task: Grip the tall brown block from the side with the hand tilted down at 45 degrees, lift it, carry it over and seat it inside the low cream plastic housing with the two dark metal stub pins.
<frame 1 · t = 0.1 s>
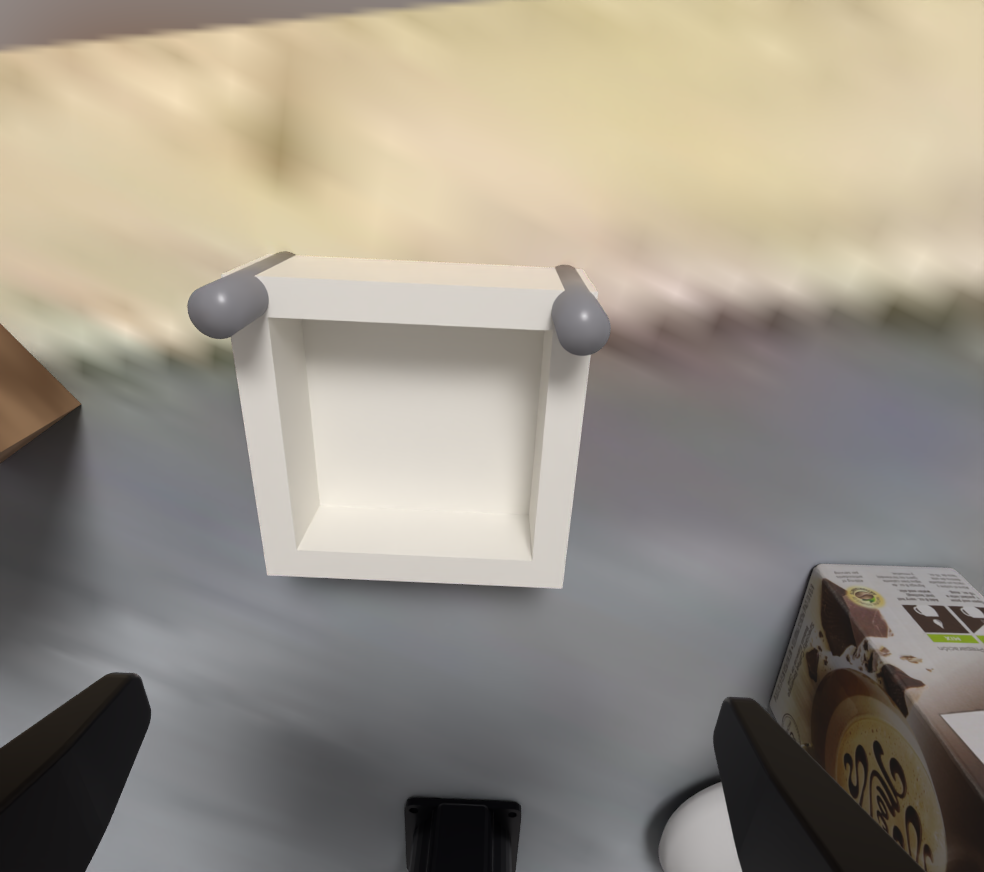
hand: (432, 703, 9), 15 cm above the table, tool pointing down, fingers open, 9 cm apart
flower in vase: (740, 818, 34), on the table
coffee box: (849, 637, 28), on the table
housing: (426, 406, 23), on the table
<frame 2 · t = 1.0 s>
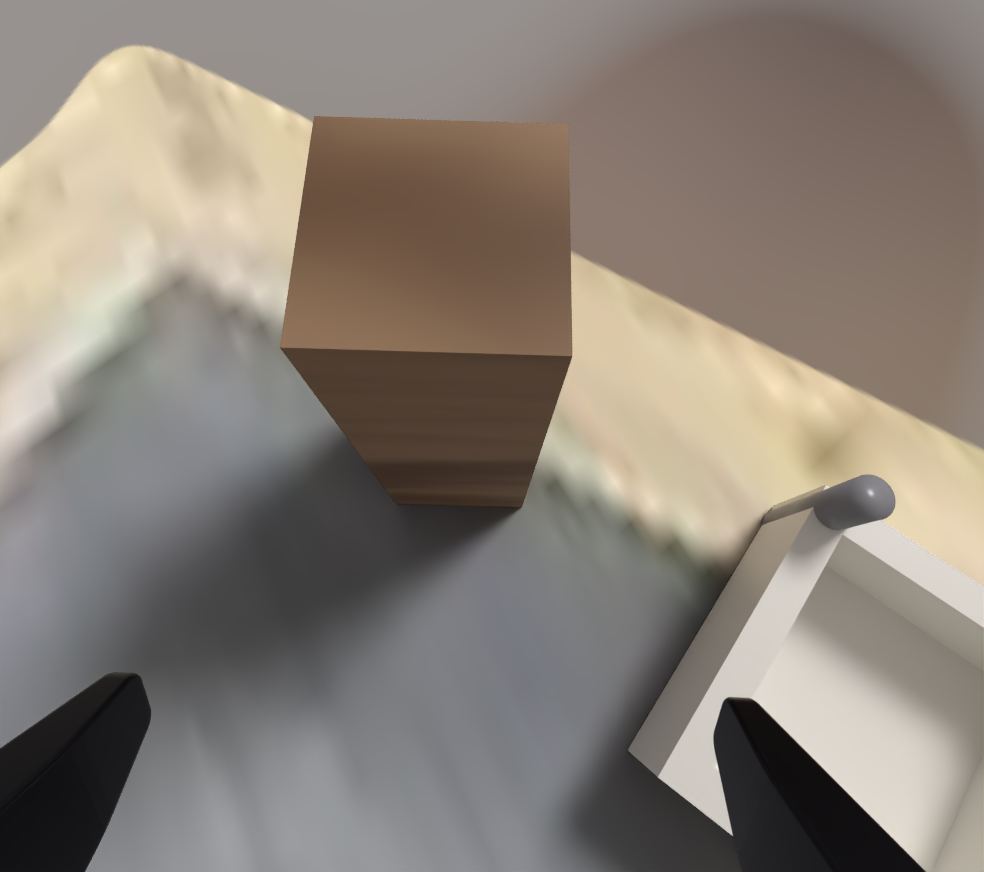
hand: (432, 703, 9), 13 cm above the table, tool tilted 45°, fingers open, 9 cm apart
brown block: (461, 445, 24), on the table
housing: (835, 714, 21), on the table
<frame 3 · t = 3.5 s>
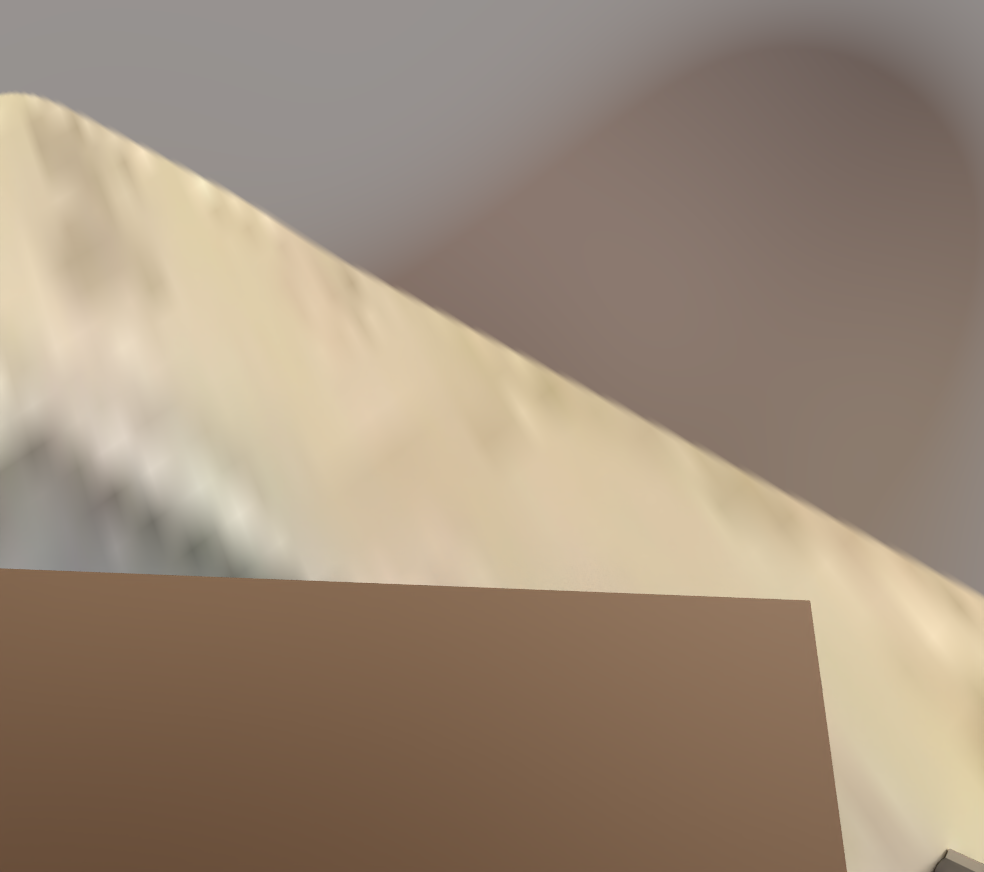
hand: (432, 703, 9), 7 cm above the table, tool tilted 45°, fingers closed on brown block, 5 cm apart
brown block: (450, 732, 15), on the table, touching gripper
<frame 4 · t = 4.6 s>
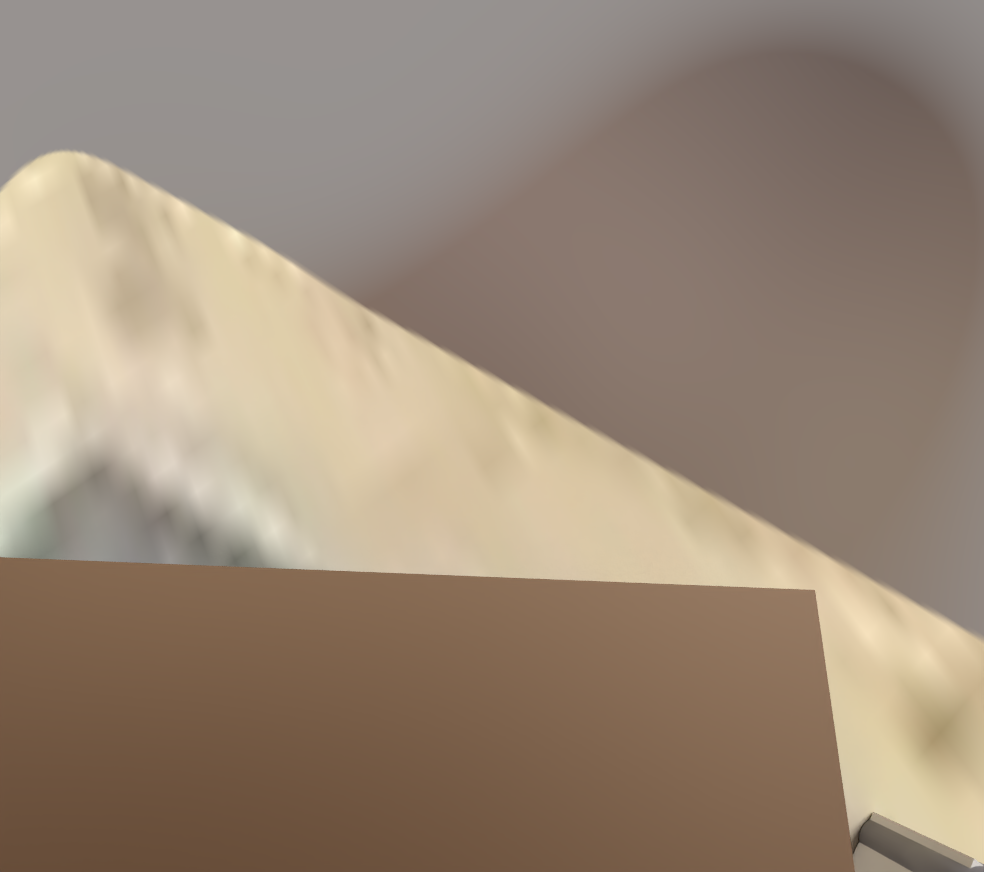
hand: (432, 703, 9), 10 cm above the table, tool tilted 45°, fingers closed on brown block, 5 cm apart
brown block: (451, 731, 15), point 3 cm above the table, touching gripper
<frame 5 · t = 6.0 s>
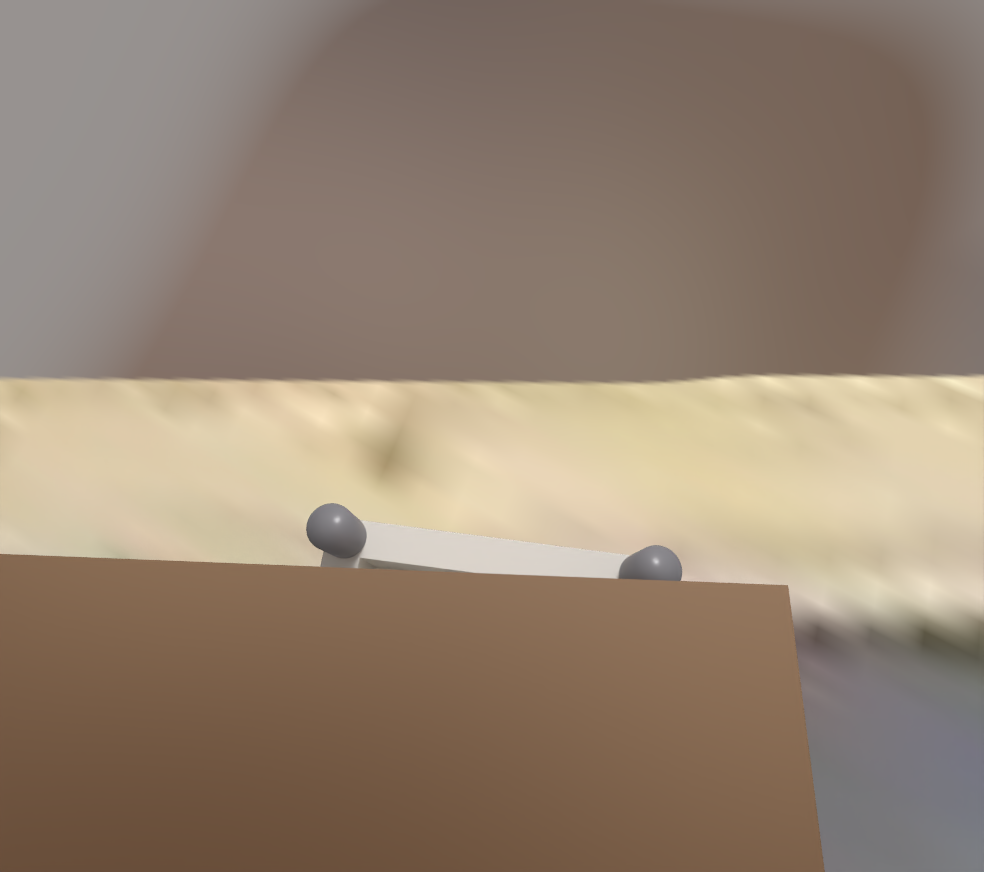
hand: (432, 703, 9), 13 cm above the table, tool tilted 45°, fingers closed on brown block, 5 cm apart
brown block: (451, 727, 16), point 6 cm above the table, touching gripper
housing: (473, 703, 21), on the table
when the fingers open (9 cm above the table, at t = 7.2 s): brown block stays where it is, resting on housing.
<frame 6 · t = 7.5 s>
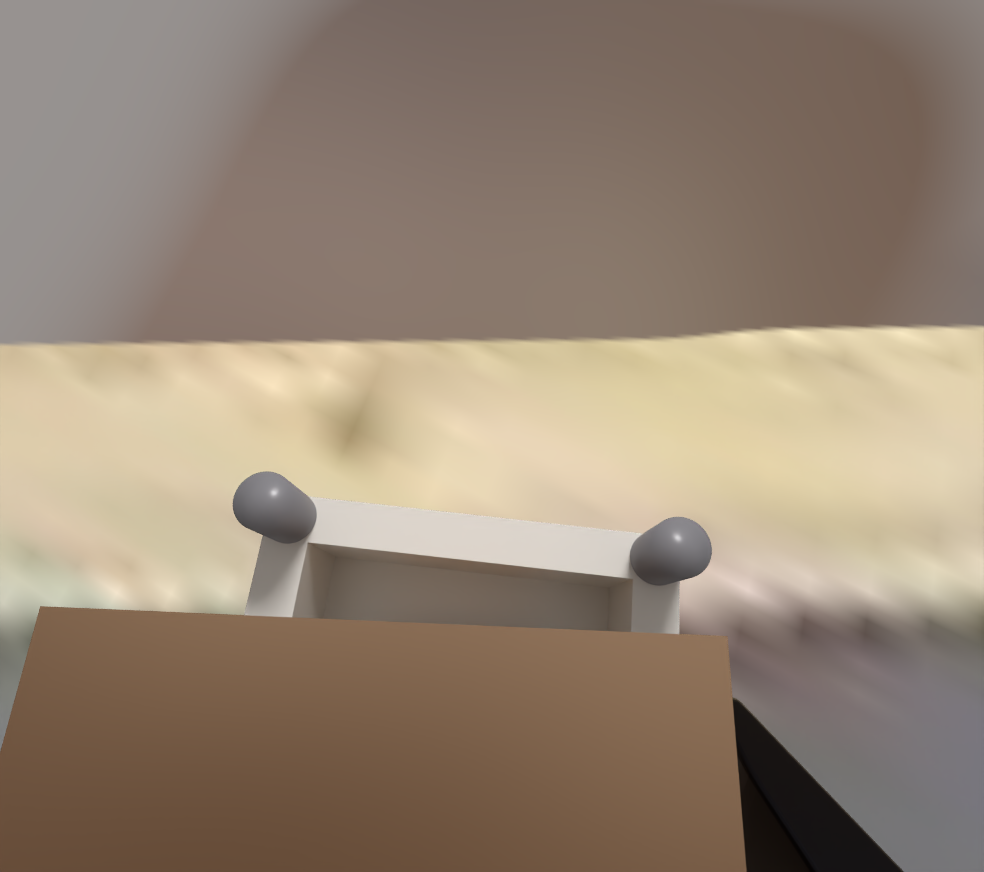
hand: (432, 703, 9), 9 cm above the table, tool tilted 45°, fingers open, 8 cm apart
brown block: (453, 722, 17), point 1 cm above the table, touching housing
housing: (454, 719, 18), on the table
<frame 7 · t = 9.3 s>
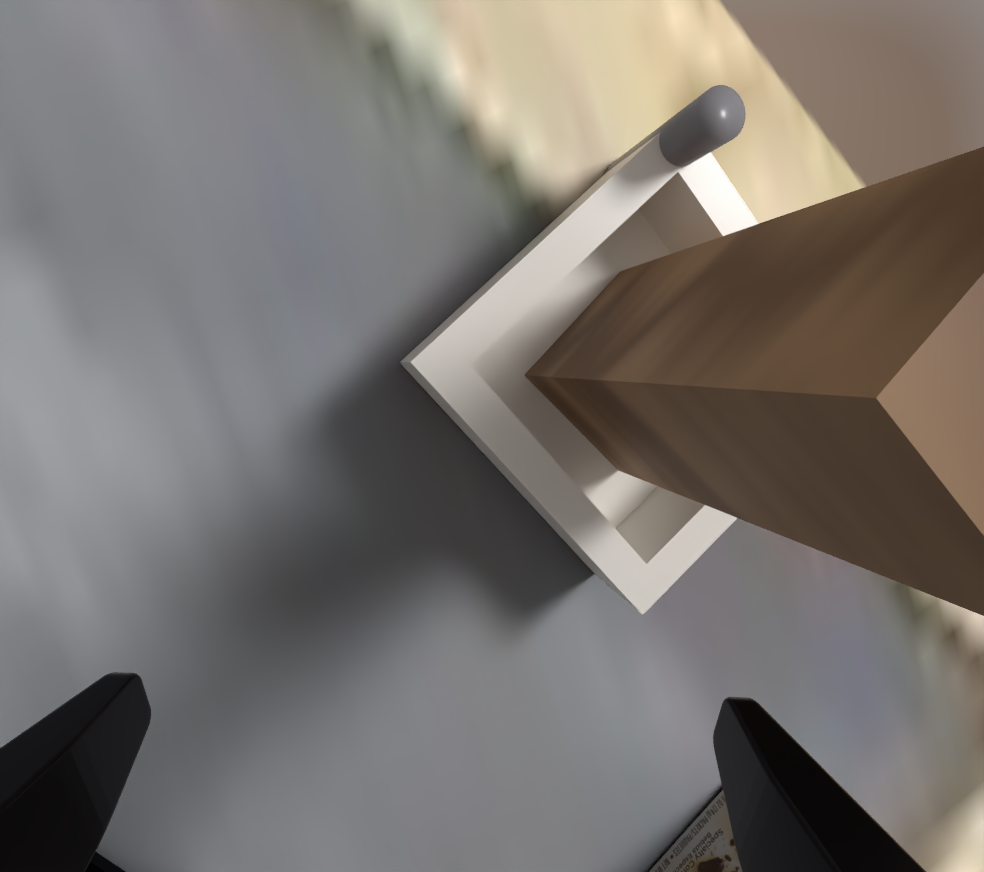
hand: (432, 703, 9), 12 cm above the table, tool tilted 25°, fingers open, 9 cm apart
brown block: (619, 372, 21), point 1 cm above the table, touching housing
housing: (609, 373, 22), on the table
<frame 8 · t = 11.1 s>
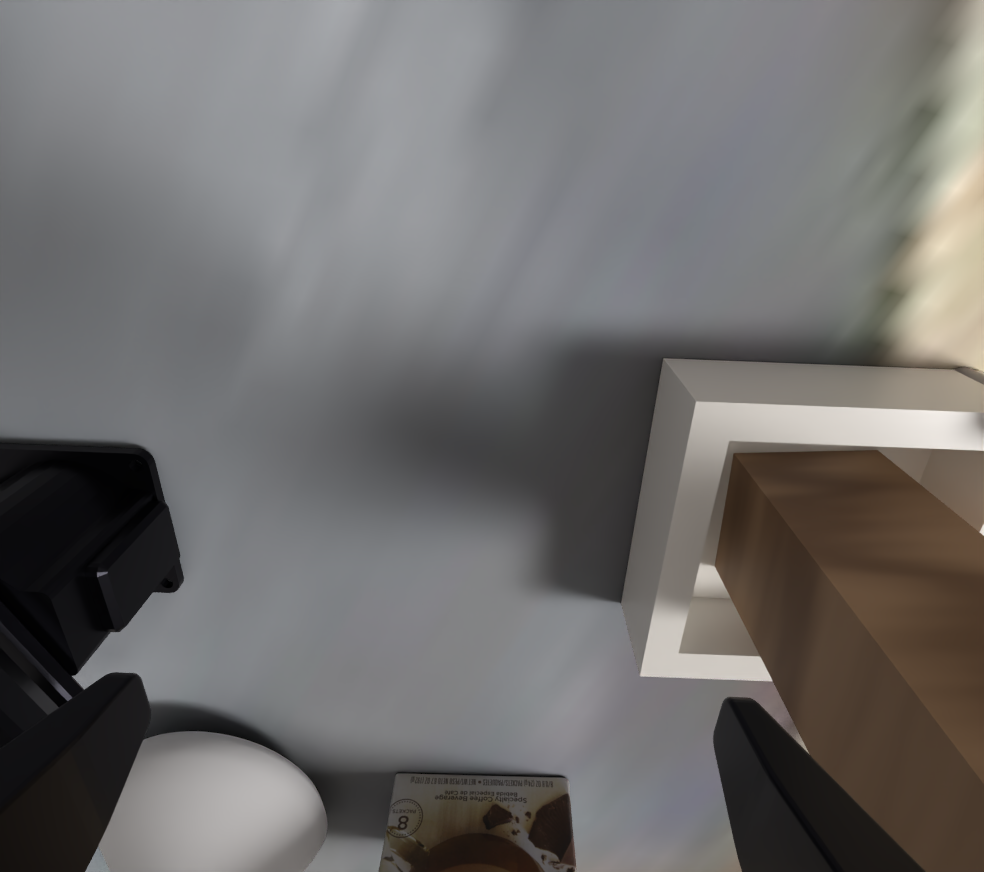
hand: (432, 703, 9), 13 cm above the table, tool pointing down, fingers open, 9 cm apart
flower in vase: (213, 772, 31), on the table
coffee box: (481, 805, 32), on the table
brown block: (791, 511, 22), point 1 cm above the table, touching housing
housing: (781, 499, 23), on the table
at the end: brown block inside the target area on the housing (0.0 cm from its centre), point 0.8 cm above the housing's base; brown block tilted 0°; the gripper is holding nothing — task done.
